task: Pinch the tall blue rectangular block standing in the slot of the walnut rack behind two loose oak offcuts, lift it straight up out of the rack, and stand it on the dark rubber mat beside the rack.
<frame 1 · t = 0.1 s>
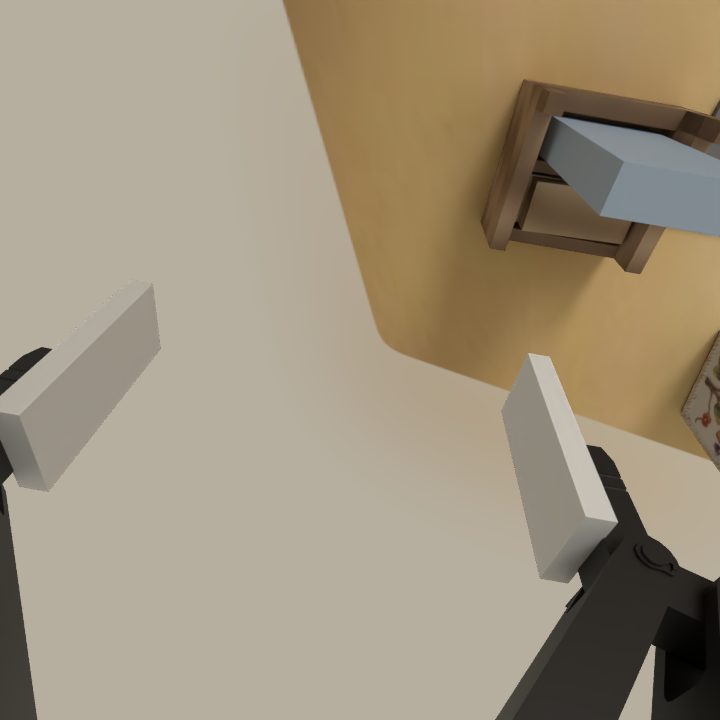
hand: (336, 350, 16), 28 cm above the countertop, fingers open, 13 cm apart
blue rectangular block: (590, 139, 36), point 1 cm above the countertop, touching rack
rack: (572, 169, 38), on the countertop
offcut top: (575, 207, 37), point 3 cm above the countertop, touching offcut low
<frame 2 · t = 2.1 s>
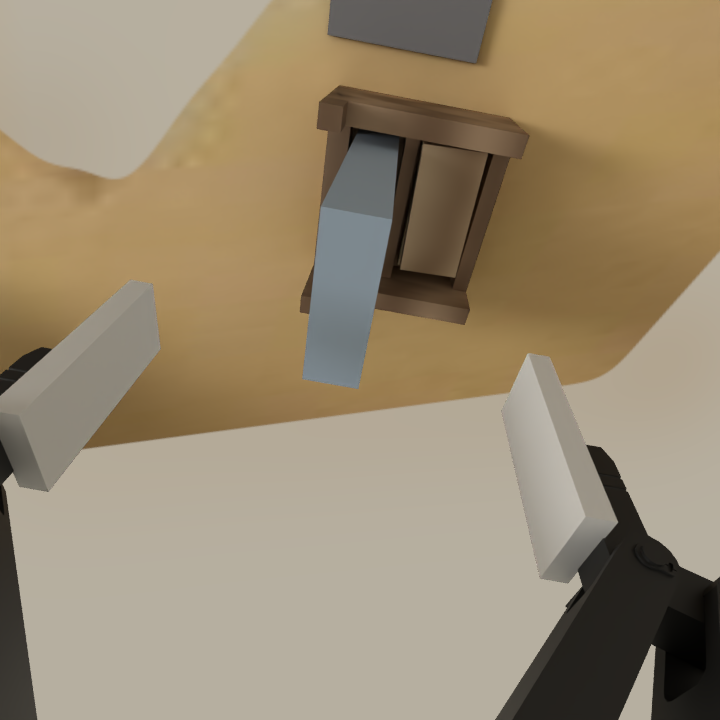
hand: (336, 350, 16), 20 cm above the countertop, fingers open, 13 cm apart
blue rectangular block: (369, 194, 32), point 1 cm above the countertop, touching rack
rack: (404, 196, 33), on the countertop
offcut top: (439, 208, 31), point 3 cm above the countertop, touching offcut low
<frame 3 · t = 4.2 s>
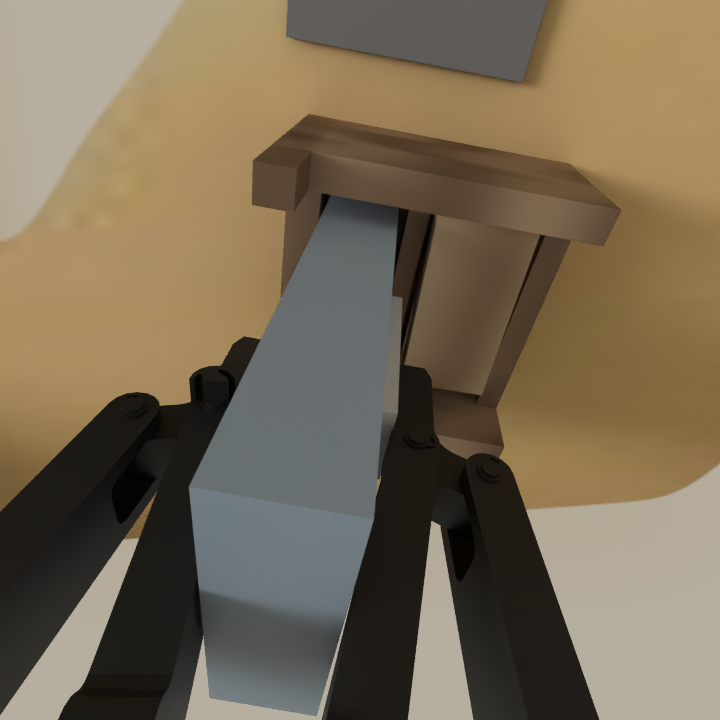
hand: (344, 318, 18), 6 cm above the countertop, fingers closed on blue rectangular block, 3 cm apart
blue rectangular block: (355, 271, 22), point 1 cm above the countertop, touching gripper, rack
rack: (408, 270, 23), on the countertop
offcut top: (459, 297, 20), point 3 cm above the countertop, touching offcut low
offcut low: (454, 290, 22), point 1 cm above the countertop, touching offcut top, rack
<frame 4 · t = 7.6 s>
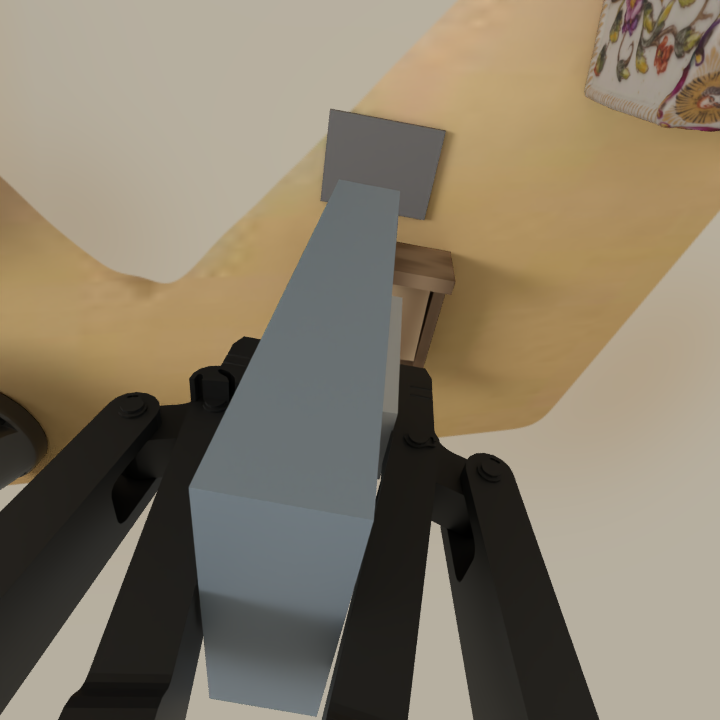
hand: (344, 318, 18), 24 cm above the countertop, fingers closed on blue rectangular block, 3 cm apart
blue rectangular block: (355, 271, 22), point 20 cm above the countertop, touching gripper
rack: (378, 299, 45), on the countertop
offcut top: (401, 313, 43), point 3 cm above the countertop, touching offcut low
mat: (380, 166, 38), on the countertop
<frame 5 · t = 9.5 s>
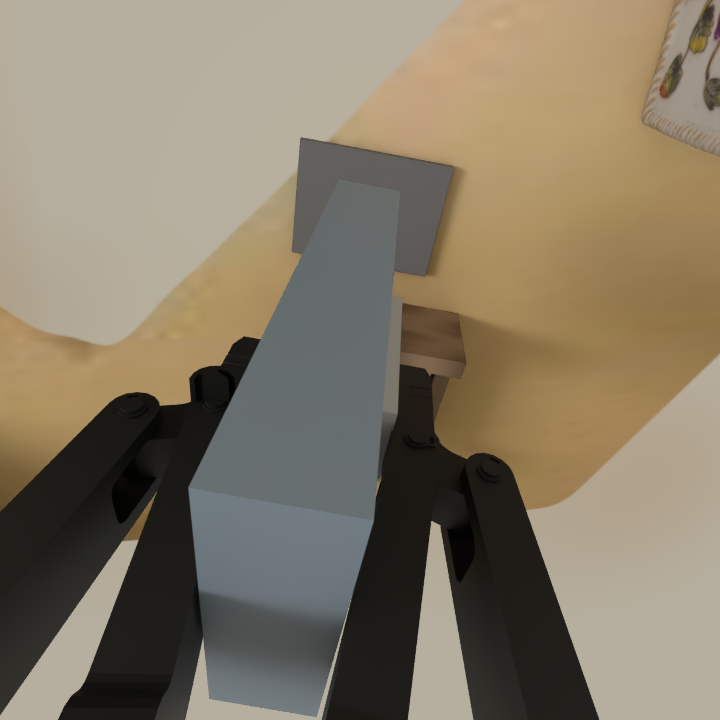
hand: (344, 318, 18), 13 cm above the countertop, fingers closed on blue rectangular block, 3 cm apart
blue rectangular block: (355, 271, 22), point 9 cm above the countertop, touching gripper
rack: (367, 366, 36), on the countertop
mat: (367, 210, 29), on the countertop
when the fingers open (6 cm above the countertop, at t = 11.1 s): blue rectangular block drops 1 cm, resting on mat.
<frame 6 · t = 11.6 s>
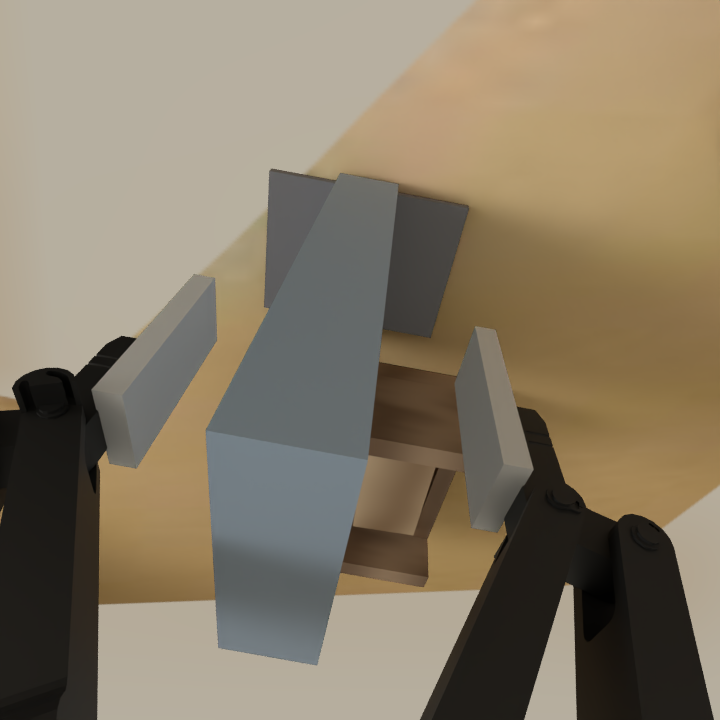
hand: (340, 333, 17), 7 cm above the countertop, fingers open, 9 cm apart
blue rectangular block: (355, 262, 23), resting on mat
rack: (360, 435, 30), on the countertop
offcut top: (394, 469, 28), point 3 cm above the countertop, touching offcut low
mat: (358, 258, 23), on the countertop
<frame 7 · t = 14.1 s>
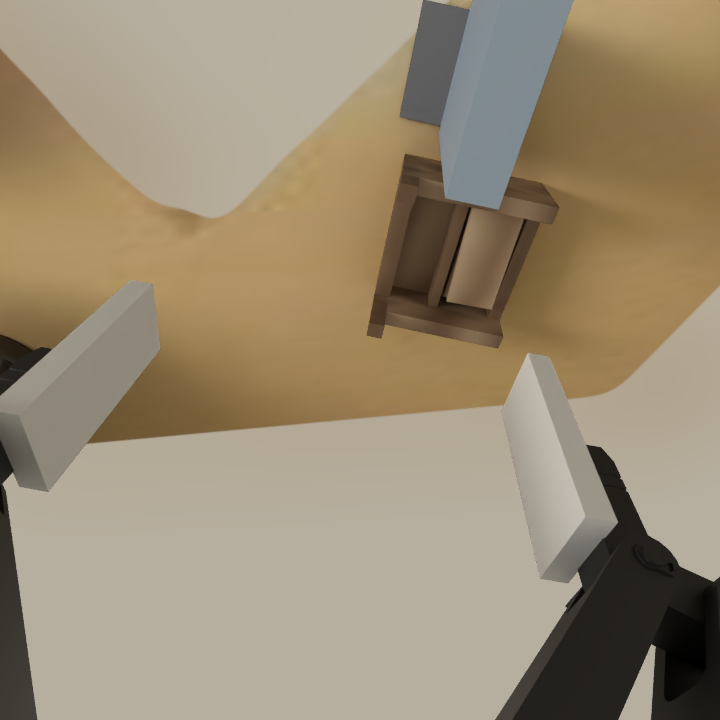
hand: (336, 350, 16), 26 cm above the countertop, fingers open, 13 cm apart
blue rectangular block: (472, 76, 32), resting on mat
rack: (451, 240, 40), on the countertop
offcut top: (481, 254, 38), point 3 cm above the countertop, touching offcut low
mat: (473, 75, 33), on the countertop
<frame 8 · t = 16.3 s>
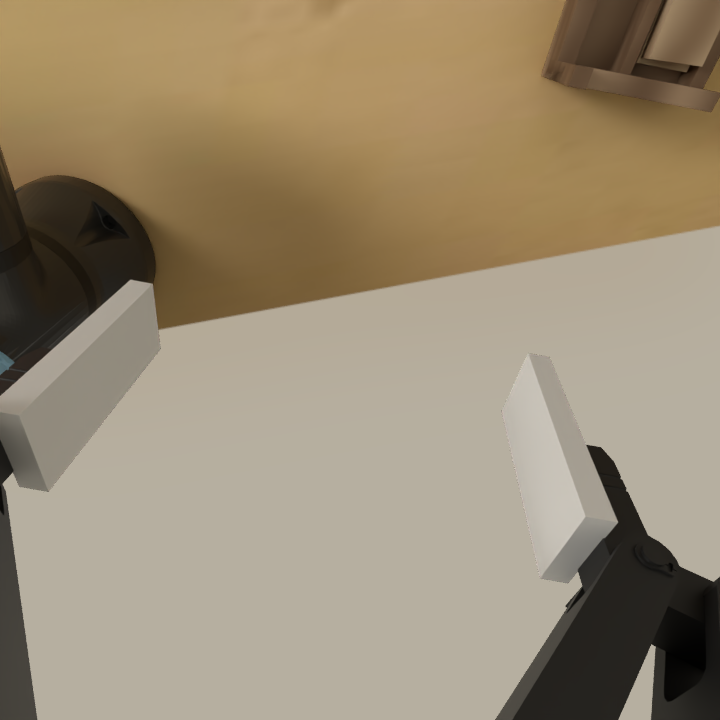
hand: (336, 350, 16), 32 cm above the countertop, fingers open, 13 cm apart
offcut low: (682, 0, 33), point 1 cm above the countertop, touching offcut top, rack
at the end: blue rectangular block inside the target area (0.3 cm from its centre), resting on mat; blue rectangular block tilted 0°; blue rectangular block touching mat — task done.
